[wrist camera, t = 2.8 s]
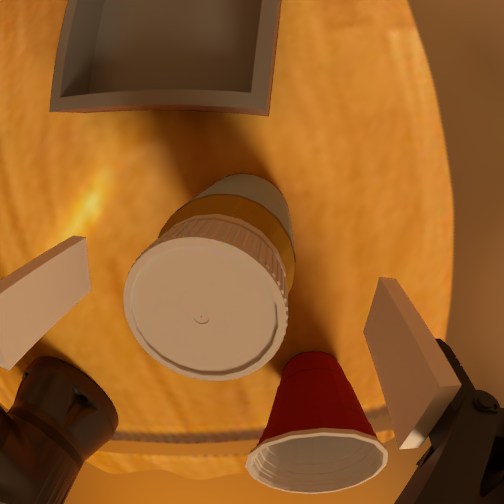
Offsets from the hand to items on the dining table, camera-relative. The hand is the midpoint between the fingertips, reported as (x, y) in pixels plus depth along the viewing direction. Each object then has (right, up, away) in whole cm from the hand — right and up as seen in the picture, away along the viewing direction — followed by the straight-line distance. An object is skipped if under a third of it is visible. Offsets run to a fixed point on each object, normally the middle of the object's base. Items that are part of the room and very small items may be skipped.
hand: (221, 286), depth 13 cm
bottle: (+1, +4, +12) cm, 13 cm away
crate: (-4, +24, +5) cm, 25 cm away
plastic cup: (+7, -11, +17) cm, 21 cm away
